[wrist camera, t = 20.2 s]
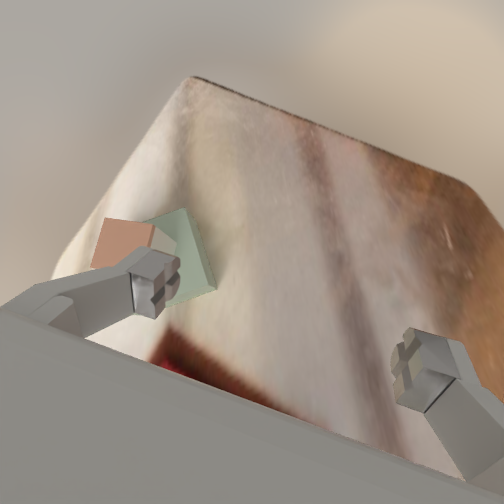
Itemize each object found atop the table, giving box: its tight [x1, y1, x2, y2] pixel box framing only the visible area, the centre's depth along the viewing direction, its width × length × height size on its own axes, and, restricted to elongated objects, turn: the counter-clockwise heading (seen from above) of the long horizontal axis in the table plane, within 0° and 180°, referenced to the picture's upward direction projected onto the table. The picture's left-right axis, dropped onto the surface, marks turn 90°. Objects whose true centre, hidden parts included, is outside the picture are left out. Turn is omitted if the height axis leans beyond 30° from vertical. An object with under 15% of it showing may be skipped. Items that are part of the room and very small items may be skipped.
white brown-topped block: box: [90, 218, 177, 269], centre depth 37 cm, size 6×6×8 cm
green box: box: [133, 207, 217, 315], centre depth 43 cm, size 12×12×6 cm
